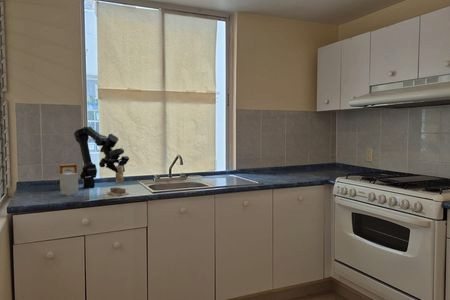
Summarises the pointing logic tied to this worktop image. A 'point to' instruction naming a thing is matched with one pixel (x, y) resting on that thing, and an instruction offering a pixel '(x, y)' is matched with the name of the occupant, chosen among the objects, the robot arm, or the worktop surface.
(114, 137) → the robot arm
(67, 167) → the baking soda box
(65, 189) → the supplement box
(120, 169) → the beech dowel
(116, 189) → the balance ridge
